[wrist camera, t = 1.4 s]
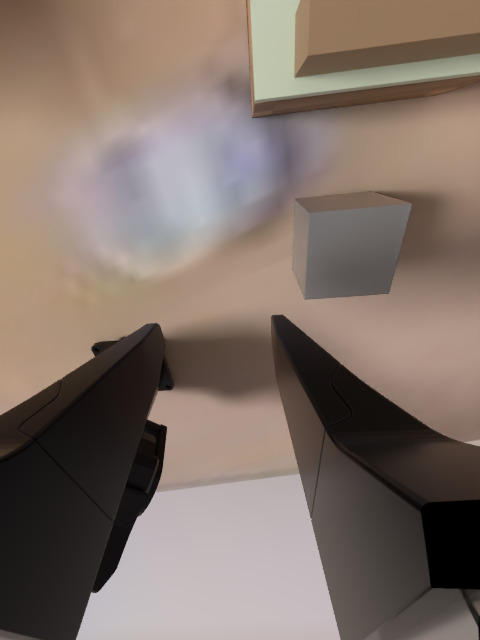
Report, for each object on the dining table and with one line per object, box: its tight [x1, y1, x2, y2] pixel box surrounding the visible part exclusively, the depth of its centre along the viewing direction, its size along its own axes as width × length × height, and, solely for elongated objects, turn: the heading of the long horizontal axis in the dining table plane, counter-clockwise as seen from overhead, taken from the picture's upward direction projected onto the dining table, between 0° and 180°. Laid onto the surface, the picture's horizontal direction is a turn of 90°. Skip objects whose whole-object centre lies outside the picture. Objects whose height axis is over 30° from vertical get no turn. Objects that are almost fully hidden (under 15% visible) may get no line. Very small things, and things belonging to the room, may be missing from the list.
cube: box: [292, 191, 412, 300], centre depth 16 cm, size 5×5×5 cm
